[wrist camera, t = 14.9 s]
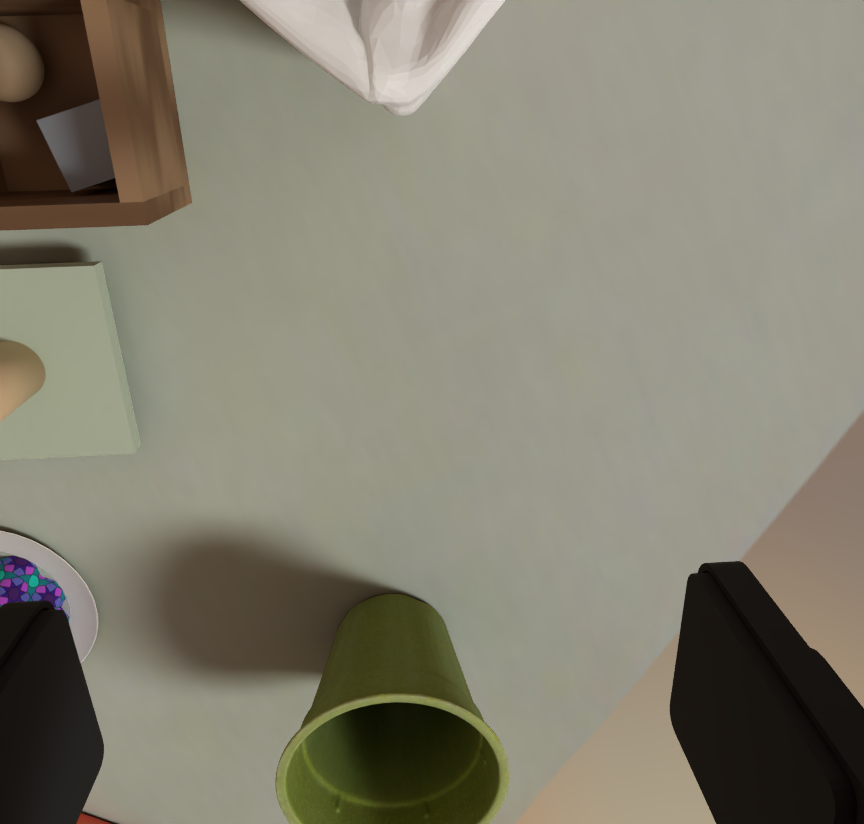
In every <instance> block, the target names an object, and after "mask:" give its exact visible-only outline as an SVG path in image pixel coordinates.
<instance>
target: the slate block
mask: <svg viewBox="0 0 864 824" xmlns="http://www.w3.org/2000/svg"><path fill="white" fill-rule="evenodd" d="M37 123H38V125H39V127H40V129H41V131H42V133H43V135H44V137H45V139H46V141H47V143H48V145H49V147H50V149H51V151H52V153H53V155H54V158H55V160H56V162H57V164H58V166H59V168H60V170H61V172H62V174H63V176H64V178H65V180H66V182H67V184H68V186H69V188H70V190H71V192H75V191H78V190H82V189H86V188H89V187H93V186H96V185H100V184H103V183H106V182H109V181H112V180H115V174H114V169H113V164H112V159H111V154H110V149H109V144H108V139H107V133H106V128H105V123H104V118H103V113H102V108H101V103H100V99H99V100H96V101H93V102H90V103H87V104H84V105H81V106H78V107H75V108H72V109H69V110H66V111H63V112H60V113H57V114H54V115H51V116H48V117H45V118H42V119H39V120H37Z"/></svg>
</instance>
